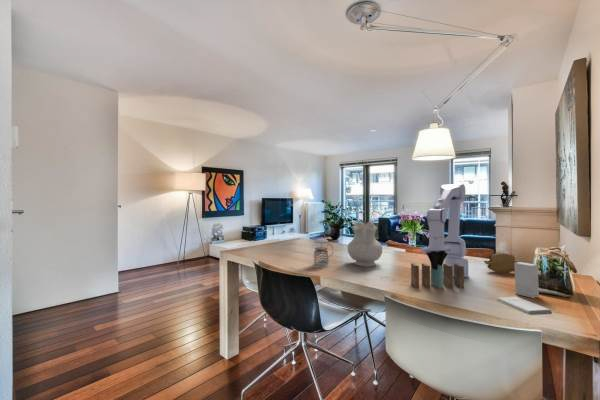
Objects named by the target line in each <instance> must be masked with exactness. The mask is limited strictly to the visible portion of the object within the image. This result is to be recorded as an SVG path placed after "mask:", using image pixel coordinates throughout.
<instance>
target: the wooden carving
mask: <svg viewBox="0 0 600 400" xmlns="http://www.w3.org/2000/svg"><path fill="white" fill-rule="evenodd" d="M517 262H518V261H516V258H515V255H514V254H509V253H505V252H496V253H494V254H492V253H491V254H489V260H484V261H483V263H484V264H485V265H487V266H486V268H488V269H489V270H491V271H493V272H495V273H498V274H508V273H512V272H514V273H515V268H514V263H517Z"/></svg>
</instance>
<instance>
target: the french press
mask: <svg viewBox="0 0 600 400" xmlns="http://www.w3.org/2000/svg"><path fill="white" fill-rule="evenodd" d="M318 223H319V224H323V223H324V222H323V221H322V220H320V221H319V222H318ZM313 242H314V244H315V243H317V244H326V243H327V246H330V247H331V249H332V250H334V247H333V245H332V244H330V243H328V242H329V240H328V239H325V238H322V237H319V238H317V239H315V240H313ZM333 254H334V251H332V253H331V254H330V255H329V251H328V247H322V246H318V247H315V248H314V251H313V256H314V257H313V258H314V259H313V260H314V261H313V262H314V263H313V264H312V267H314V268H318V269H319V268H320V269H322V268H323V269H326V268H330V267H329V266H330V264H329V258H330V257H331V256H333Z"/></svg>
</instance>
